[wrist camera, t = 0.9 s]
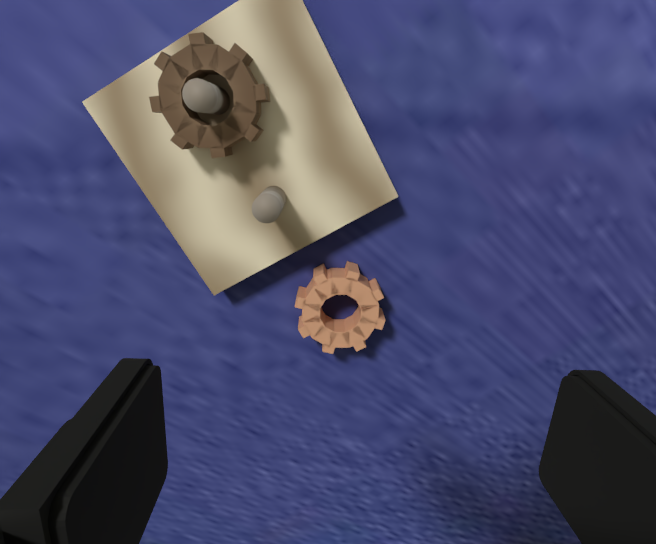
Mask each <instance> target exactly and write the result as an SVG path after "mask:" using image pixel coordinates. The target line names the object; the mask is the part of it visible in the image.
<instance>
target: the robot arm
mask: <svg viewBox="0 0 656 544" xmlns="http://www.w3.org/2000/svg"><path fill="white" fill-rule="evenodd" d="M167 468H168V459H167V446H166V433H165V420H164V406H163V393H162V380H161V370H160V367H159V366H153V363H152V361H151V360H150V359H133V358H123V359H122V360H120V362H119V363H118V364H117V365H116V366H115V368H114V369H113V370H112V371H111V372H110V374H109V375H108V376H107V377H106V378H105V380H104V381H103V382H102V383H101V384H100V386H99V387H98V388H97V389H96V390H95V392H94V393H93V394H92V395H91V397H90V398H89V399H88V400H87V401H86V403H85V404H84V405H83V406H82V407H81V409H80V410H79V411H78V412H77V413H76V415H75V416H74V417H73V418H72V419H70V420H68V421H67V422H66V423H65V424H64V425H63V426H62V427H61V428H60V429H59V431H58V432H57V433H56V434H55V435H54V436H53V438H52V439H51V440H50V441H49V442H48V444H47V445H46V446H45V447H44V448H43V450H42V451H41V452H40V453H39V454H38V455H37V457H36V458H35V459H34V460H33V461H32V463H31V464H30V465H29V466H28V467H27V469H26V470H25V471H24V472H23V473H22V475H21V476H20V477H19V478H18V479H17V480H16V482H15V483H14V484H13V485H12V486H11V488H10V489H9V490H8V491H7V492H6V494H5V495H4V496H3V497H2V498H1V499H0V544H139V542H140V540H141V537H142V535H143V532H144V530H145V528H146V525H147V523H148V520H149V518H150V515H151V513H152V511H153V508H154V506H155V503H156V501H157V499H158V496H159V494H160V491H161V489H162V486H163V484H164V482H165V479H166V475H167ZM539 476H540V480H541V482H542V484H543V486H544V487H545V489H546V490H547V492H548V493H549V495H550V496H551V498H552V499H553V501H554V502H555V504H556V505H557V507H558V508H559V510H560V511H561V513H562V514H563V516H564V517H565V519H566V520H567V522H568V523H569V525H570V526H571V528H572V529H573V531H574V532H575V534H576V535H577V537H578V538H579V540H580V541H581V543H582V544H656V416H655V415H654V414H653V413H652V412H651V411H649V410H648V409H647V408H646V407H644V406H643V405H642V404H641V403H639V402H638V401H637V400H636V399H635V398H633V397H632V396H631V395H630V394H628V393H627V392H626V391H625V390H623V389H622V388H621V387H620V386H619V385H617V384H616V383H615V382H614V381H612V380H611V379H610V378H609V377H607V376H606V375H605V374H604V373H602V372H600V371H594V370H573V371H571V372H570V373H569V374H568V376H565V377H564V378H563V379H562V381H561V384H560V388H559V392H558V396H557V400H556V403H555V407H554V411H553V415H552V419H551V423H550V427H549V430H548V434H547V438H546V442H545V446H544V450H543V454H542V457H541V461H540V465H539Z"/></svg>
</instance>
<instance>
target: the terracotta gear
mask: <svg viewBox="0 0 656 544" xmlns="http://www.w3.org/2000/svg"><path fill="white" fill-rule="evenodd" d="M334 295H348V296H350V297H351V298H353V299H355V300H356V301H357V303H358V308H357V309H356V311H355V312H354V314H353V315H352V316H350V317H348V318H346V319H332V318H331V317H329V316H327V315H325V313H324V312H323V310H322V308H321V306H322V305H323V303H324V302H325V300H326V299H328V298H330V297H332V296H334ZM383 298H384V296H383V294H382V291H381V288H380V286H379V284H378V282H377V280H376V278H374V279H372V280H370V281H368V279H367V278H366V277H365V276H363V275H361V274H360V272H359V268H358V264H355V263H352V262H348V261H347V262H346V266H345V268H329V269H328V270H327V269H326V267H325V266H324V264H322V265H320V266H318V267H316V268H314V273H313V278H312V280H311V282H310V283H309V285H308V286H307V288H305V287H301V286H299V289H298V292H297V296H296V302H295V307H296V308H300V309H302V316H300V317H299V325H298V330H299V332H300V333H301V335H302V337H303V338H305V337H307V336H309V335H310V336H311V337H312V339H314V340H316V341H318V342H320V343H322V351H323V352H327V353H330V354H333V352H334V349H335V348H350V347H352V346H353V347H354V348H355V350H356V352H357V351H359V350H361V349H363V348H365V347H366V343H365V340H366V339H367V338H368V337H369V336H370V334H371V333H372V331H373V330H374V329H375V328H376V329H380V330H382V329H383V326H384V323H385V321H386V320H385V317H384V314H383V311H382V308H379V303H378V301H379V300H381V299H383Z"/></svg>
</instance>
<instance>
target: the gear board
mask: <svg viewBox="0 0 656 544" xmlns="http://www.w3.org/2000/svg"><path fill="white" fill-rule="evenodd" d="M82 103H83V104H84V106H85V107H86V109H87V110H88V112H89V113H90V115H91V116H92V117H93V119H94V120H95V122H96V123H97V125H98V126H99V128H100V129H101V131H102V132H103V134H104V135H105V136H106V138H107V139H108V141H109V142H110V144H111V145H112V147H113V148H114V150H115V151H116V153H117V154H118V156H119V157H120V158H121V160H122V161H123V163H124V164H125V166H126V167H127V169H128V170H129V172H130V173H131V175H132V176H133V178H134V179H135V180H136V182H137V183H138V185H139V186H140V188H141V189H142V191H143V192H144V194H145V195H146V197H147V198H148V200H149V201H150V202H151V204H152V205H153V207H154V208H155V210H156V211H157V213H158V214H159V216H160V217H161V219H162V220H163V221H164V223H165V224H166V226H167V227H168V229H169V230H170V232H171V233H172V235H173V236H174V238H175V239H176V241H177V242H178V243H179V245H180V246H181V248H182V249H183V251H184V252H185V254H186V255H187V257H188V258H189V260H190V261H191V263H192V264H193V265H194V267H195V268H196V270H197V271H198V273H199V274H200V276H201V277H202V279H203V280H204V282H205V283H206V285H207V286H208V287H209V289H210V290H211V292H212V293H213V295H216V294H218V293H219V292H221V291H223V290H225V289H227V288H229V287H231V286H232V285H234V284H236V283H238V282H240V281H242V280H244V279H246V278H247V277H249V276H251V275H253V274H255V273H257V272H259V271H261V270H262V269H264V268H266V267H268V266H270V265H272V264H274V263H275V262H277V261H279V260H281V259H283V258H285V257H287V256H289V255H290V254H292V253H294V252H296V251H298V250H300V249H302V248H303V247H305V246H307V245H309V244H311V243H313V242H315V241H317V240H318V239H320V238H322V237H324V236H326V235H328V234H330V233H332V232H333V231H335V230H337V229H339V228H341V227H343V226H345V225H346V224H348V223H350V222H352V221H354V220H356V219H358V218H360V217H361V216H363V215H365V214H367V213H369V212H371V211H373V210H374V209H376V208H378V207H380V206H382V205H384V204H386V203H388V202H389V201H391V200H393V199H395V198H397V197H398V195H397V193H396V191H395V189H394V186H393V184H392V182H391V180H390V178H389V176H388V174H387V172H386V170H385V168H384V166H383V164H382V162H381V160H380V158H379V156H378V154H377V152H376V150H375V148H374V146H373V144H372V142H371V139H370V137H369V135H368V133H367V131H366V129H365V127H364V125H363V123H362V121H361V119H360V117H359V115H358V113H357V111H356V109H355V107H354V105H353V103H352V101H351V99H350V97H349V95H348V92H347V90H346V88H345V86H344V84H343V82H342V80H341V78H340V76H339V74H338V72H337V70H336V68H335V66H334V64H333V62H332V60H331V58H330V56H329V54H328V52H327V50H326V48H325V45H324V43H323V41H322V39H321V37H320V35H319V33H318V31H317V29H316V27H315V25H314V23H313V21H312V19H311V17H310V15H309V13H308V11H307V9H306V7H305V5H304V3H303V1H302V0H239V1H237V2H236V3H234V4H233V5H231V6H230V7H228V8H227V9H225V10H223V11H222V12H220V13H219V14H217V15H216V16H214V17H213V18H211V19H210V20H208V21H206V22H205V23H203V24H202V25H200V26H199V27H197V28H196V29H194V30H193V31H191V32H189V33H188V34H186V35H185V36H183V37H182V38H180V39H179V40H177V41H176V42H174V43H172V44H171V45H169V46H168V47H166V48H165V49H163V50H162V51H160V52H159V53H157V54H155V55H154V56H152V57H151V58H149V59H148V60H146V61H145V62H143V63H142V64H140V65H138V66H137V67H135V68H134V69H132V70H131V71H129V72H128V73H126V74H125V75H123V76H121V77H120V78H118V79H117V80H115V81H114V82H112V83H111V84H109V85H107V86H106V87H104V88H103V89H101V90H100V91H98V92H97V93H95V94H94V95H92V96H90V97H89V98H87V99H86V100H84V101H83V102H82Z"/></svg>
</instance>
